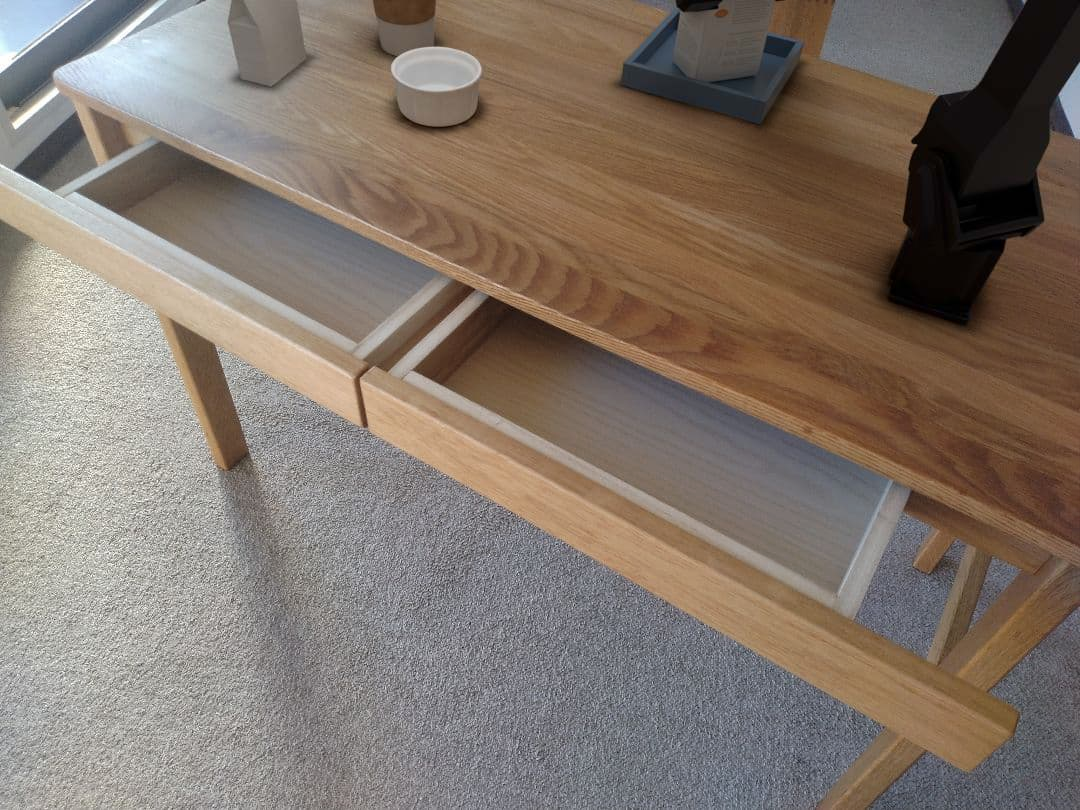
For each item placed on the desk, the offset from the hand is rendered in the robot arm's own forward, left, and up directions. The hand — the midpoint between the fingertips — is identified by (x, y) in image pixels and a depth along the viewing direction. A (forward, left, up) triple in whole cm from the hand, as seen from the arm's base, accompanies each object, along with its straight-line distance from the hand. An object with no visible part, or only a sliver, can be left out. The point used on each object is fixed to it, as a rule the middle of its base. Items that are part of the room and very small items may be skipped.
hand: (720, 2), depth 88 cm
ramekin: (+21, +23, -7) cm, 32 cm away
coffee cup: (+31, +13, -7) cm, 34 cm away
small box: (-1, +1, -7) cm, 7 cm away
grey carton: (+40, +25, -7) cm, 48 cm away
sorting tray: (-1, +1, -7) cm, 7 cm away
